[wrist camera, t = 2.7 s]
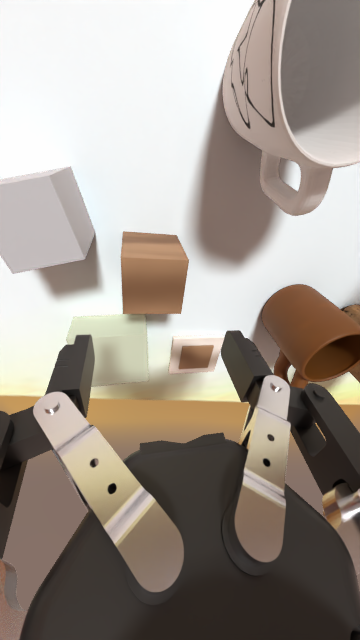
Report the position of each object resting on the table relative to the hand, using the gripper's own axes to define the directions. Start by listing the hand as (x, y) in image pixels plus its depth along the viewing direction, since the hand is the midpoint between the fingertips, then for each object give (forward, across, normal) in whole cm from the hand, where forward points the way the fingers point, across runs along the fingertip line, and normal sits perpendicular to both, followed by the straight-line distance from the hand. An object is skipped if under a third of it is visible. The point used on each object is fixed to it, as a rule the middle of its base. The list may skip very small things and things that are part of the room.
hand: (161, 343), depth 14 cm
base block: (+12, +4, +11) cm, 17 cm away
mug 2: (+12, -18, +8) cm, 23 cm away
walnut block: (+12, 0, 0) cm, 12 cm away
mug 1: (+12, -8, -12) cm, 19 cm away
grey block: (+12, +8, -4) cm, 15 cm away
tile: (+12, -7, +14) cm, 20 cm away
